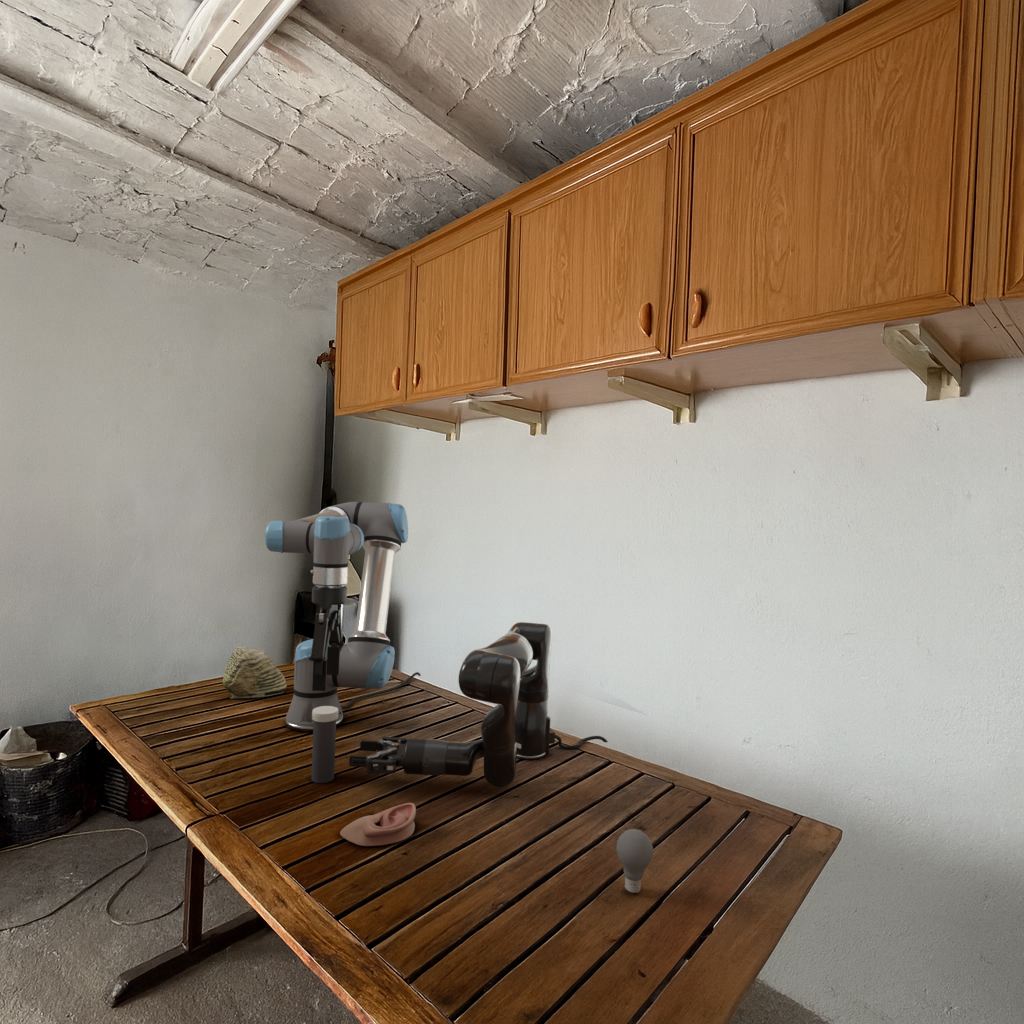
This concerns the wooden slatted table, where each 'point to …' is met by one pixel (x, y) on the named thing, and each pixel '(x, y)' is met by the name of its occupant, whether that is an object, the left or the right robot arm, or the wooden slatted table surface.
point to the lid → (325, 714)
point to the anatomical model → (382, 826)
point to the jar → (323, 751)
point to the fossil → (252, 674)
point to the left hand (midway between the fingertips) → (326, 682)
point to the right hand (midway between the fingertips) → (355, 752)
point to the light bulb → (634, 857)
